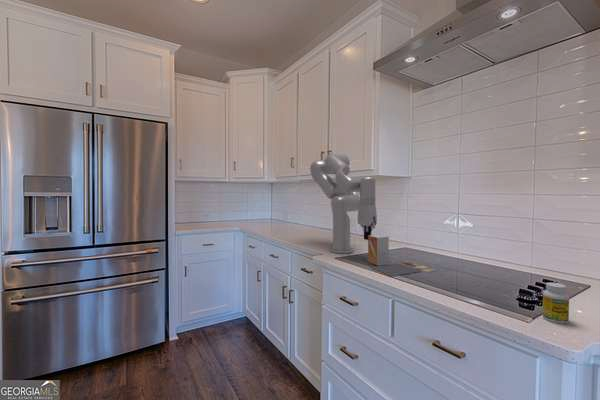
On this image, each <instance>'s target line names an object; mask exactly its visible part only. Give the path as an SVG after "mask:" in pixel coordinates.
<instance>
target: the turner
mask: <svg viewBox="0 0 600 400" xmlns="http://www.w3.org/2000/svg"><path fill="white" fill-rule="evenodd" d="M400 263H401V264H403V265H406V266H407V265H408V266H409V267H412V268H413V269H416V270H419V271H421V272H423V273H433V272H436V269H434V268H430V267H428V266H425V265H420V264H416V263H414V262H411V261H407V260H404V259H402V260H400Z"/></svg>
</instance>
